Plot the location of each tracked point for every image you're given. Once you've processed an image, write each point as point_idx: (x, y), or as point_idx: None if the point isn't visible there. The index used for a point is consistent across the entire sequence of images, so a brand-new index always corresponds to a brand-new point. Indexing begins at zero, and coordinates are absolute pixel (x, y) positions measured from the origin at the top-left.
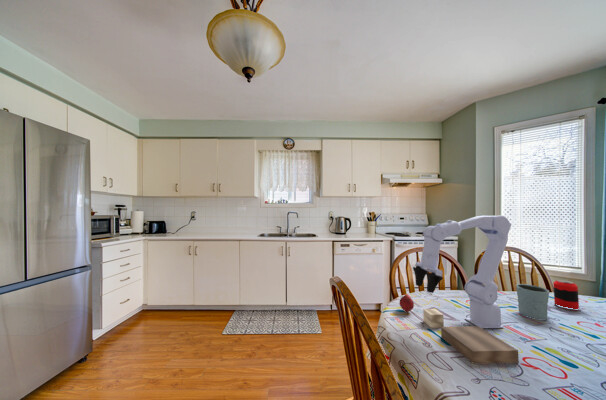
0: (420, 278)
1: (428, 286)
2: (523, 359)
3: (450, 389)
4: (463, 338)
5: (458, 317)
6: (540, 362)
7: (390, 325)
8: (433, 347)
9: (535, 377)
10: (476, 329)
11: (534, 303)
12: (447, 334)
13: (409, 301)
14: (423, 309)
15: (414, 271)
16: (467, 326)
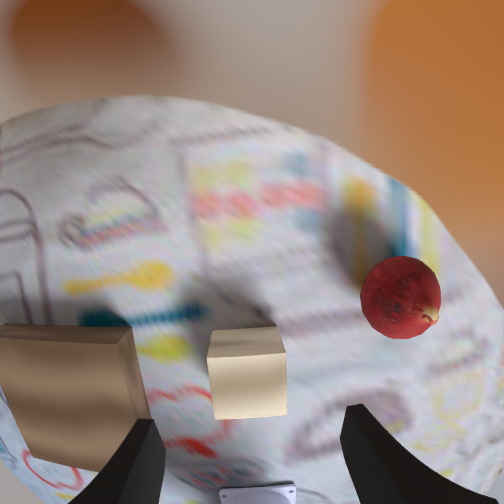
0: (368, 486)
1: (113, 454)
2: None
3: None
4: (43, 367)
5: (309, 471)
6: (65, 478)
7: (228, 127)
8: (58, 247)
9: (6, 419)
10: None
11: None
12: (83, 338)
13: (382, 310)
14: (283, 352)
15: (454, 491)
16: None
